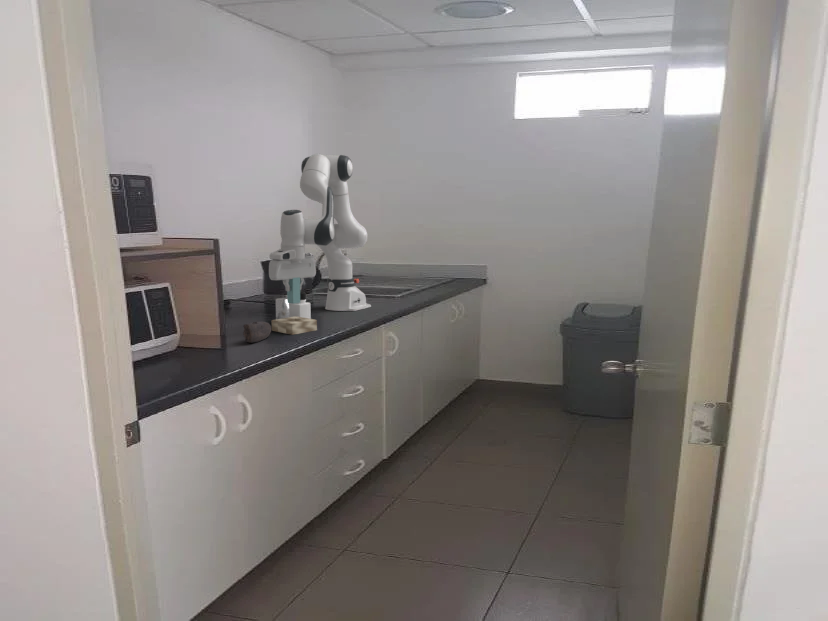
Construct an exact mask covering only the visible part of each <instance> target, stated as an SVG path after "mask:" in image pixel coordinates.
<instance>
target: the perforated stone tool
mask: <svg viewBox="0 0 828 621" xmlns="http://www.w3.org/2000/svg"><path fill="white" fill-rule="evenodd" d="M271 333H272V325H271V324H270V323H269V322H266V321H254V322H251V323H250V322H249V323H245V324H243V332H242V334H243V337H244V339H245V340H244V341H245V342H247V343H249V344H252V343H253V344H254V343H258V342H260V341H264V340H265V339H267V338H268V337H269V336H270V334H271Z"/></svg>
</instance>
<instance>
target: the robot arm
mask: <svg viewBox="0 0 828 621" xmlns="http://www.w3.org/2000/svg"><path fill="white" fill-rule="evenodd" d="M353 167H354V166H353V161H352V160H351V158H350V157H349V156H347V155H345V154H340V155H337V154H336V155H335V154H324V155H323V154H321V153H314V154H312V155H311V156H307V157H305V158H304V159H303V160H302V162H301V176H300V179H299V180H300V181H299V188H300V191H301V192H302V194H303V195H304V196H305V197H307V198H308V199H310V200H311V201H315V202H317V203H320V204H322V205H321V206H322V208H321V210H322V211H321V217H320V218H312V219H311V218H304V214H303V211H302V210H300V209H288V210H285V211H283V212H281V217H280V228H279V229H280V238H281V243H280V248H279V249H277V250H275V251H273V252H271V253H269V259H270V261H269V262H268V277H269V280H271V281H282V283H283V285H284V287H285V292H287V291H291V290H292V289H291V288H292V287H291V286H289V283H288V282H289V279H293V278H298V277H300V291H302V285H303V284H304V282H305V279H306V278H315V276H316V274H317V266H316V263H315V256H314V254H312V253H311V252H308V253H307V252H306V246H305V245H316V246H317V247H318V248H320V249H321V251H322V252H323V254H324V256H325V258H326V261H327V274H328V275H327V281H326V284H327V296H326V302H325V308H324V309H325V310H327V311H333V312H334V311H335V312H338V311H339V312H340V311H341V312H342V311H343V312H345V311H346V312H349V311H350V312H355V311H360V310H364V309H368V308H371V307H372V305H371V304H370V303H367V298H366V294H365V293H364V292H363V291H362V290H360V289H359V288H358V287H357V286H356V284H359V283H360V280H359V279H360V278H353V262H352V260H351V259H350V258H349V256H346V255H345V254H344V253H343V251H342V249H357V248H363V247H364V246H365V245H366V243H367V242H368V236H369V235H368V230H367V229H366V227H365V226H363V225H362V224H361V223H359V221H358V220H357V219H356V217H355V216H354V215H353V212H352V209H351V203H350V202H351V201H350V196H349V195H350V194H349V186H348V180H349V179H350V178H351V177H352V175H353V170H354V168H353ZM335 221H336V222H337V223H335Z"/></svg>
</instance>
